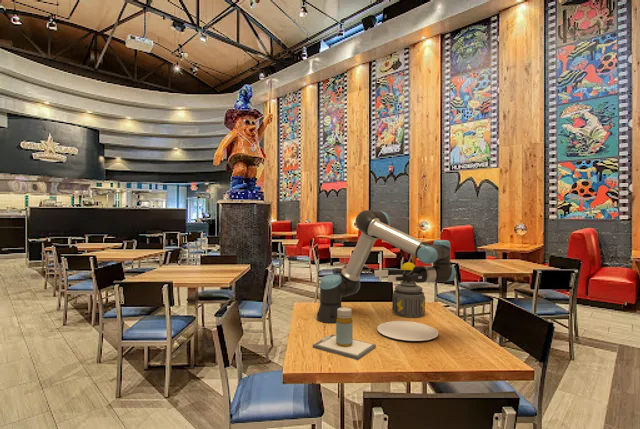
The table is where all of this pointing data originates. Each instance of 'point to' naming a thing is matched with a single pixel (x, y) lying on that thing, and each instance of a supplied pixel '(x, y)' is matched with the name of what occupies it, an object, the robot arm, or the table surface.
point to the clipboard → (353, 351)
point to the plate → (407, 331)
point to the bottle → (344, 327)
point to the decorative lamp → (408, 297)
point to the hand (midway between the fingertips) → (381, 276)
